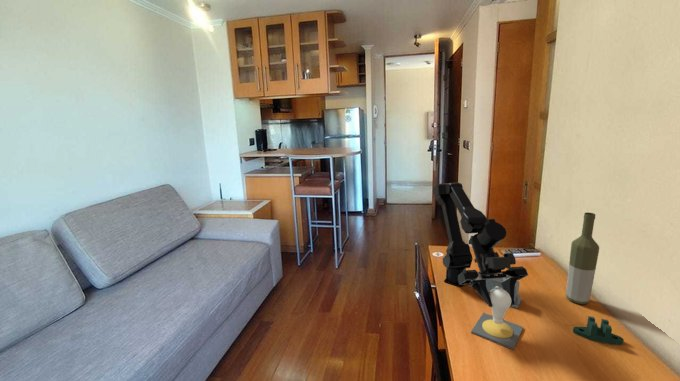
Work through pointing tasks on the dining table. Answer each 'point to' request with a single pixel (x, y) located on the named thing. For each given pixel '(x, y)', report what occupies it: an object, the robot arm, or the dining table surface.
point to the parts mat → (497, 331)
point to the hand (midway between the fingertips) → (501, 306)
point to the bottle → (582, 263)
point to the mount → (598, 332)
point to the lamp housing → (497, 284)
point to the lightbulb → (499, 304)
